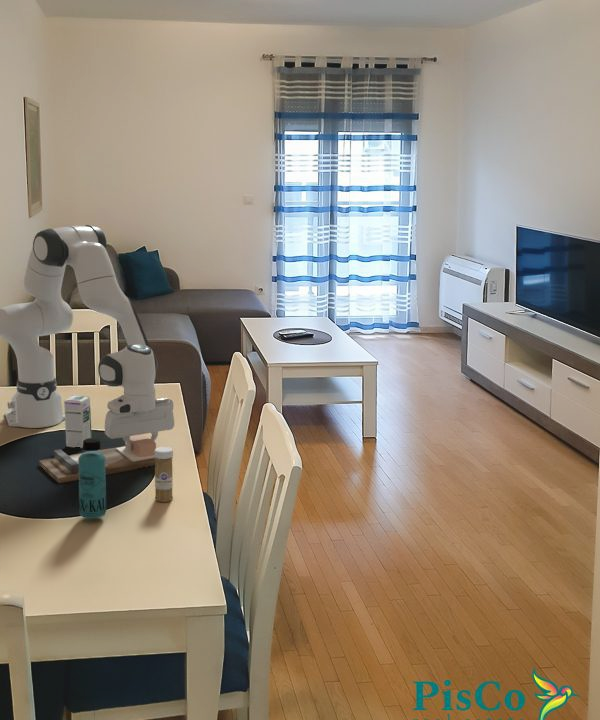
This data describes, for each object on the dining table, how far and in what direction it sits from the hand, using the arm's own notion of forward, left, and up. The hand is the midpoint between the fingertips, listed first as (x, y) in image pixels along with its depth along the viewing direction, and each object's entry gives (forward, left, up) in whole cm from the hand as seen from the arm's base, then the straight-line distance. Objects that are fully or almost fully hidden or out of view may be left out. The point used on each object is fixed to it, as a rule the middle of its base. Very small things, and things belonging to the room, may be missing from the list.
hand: (140, 448), depth 259 cm
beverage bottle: (+35, -28, -3) cm, 45 cm away
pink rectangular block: (0, -1, -1) cm, 2 cm away
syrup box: (-20, -11, -3) cm, 23 cm away
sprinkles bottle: (+32, -8, -3) cm, 33 cm away
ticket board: (0, -13, -3) cm, 13 cm away
